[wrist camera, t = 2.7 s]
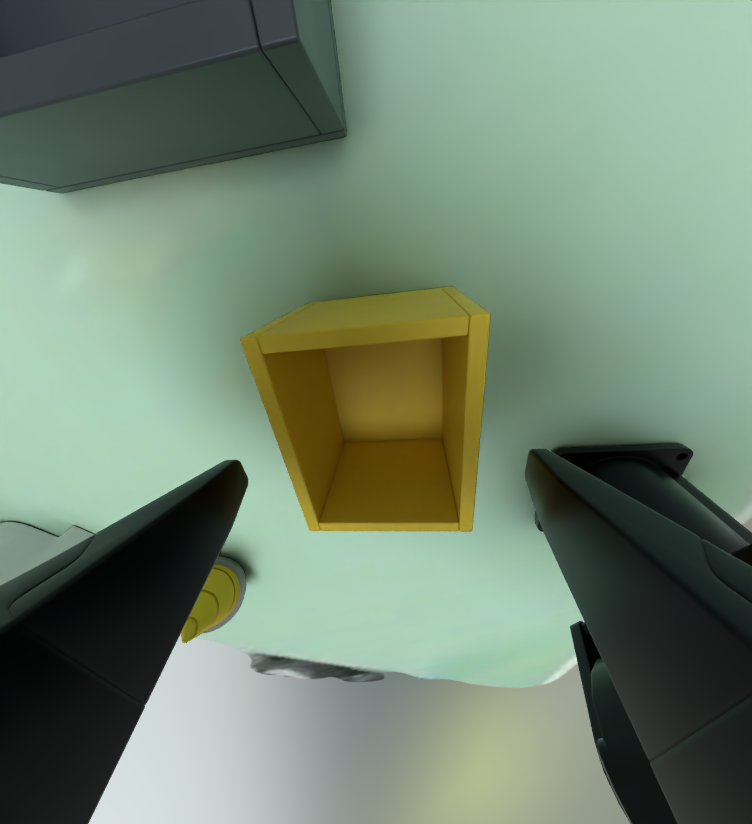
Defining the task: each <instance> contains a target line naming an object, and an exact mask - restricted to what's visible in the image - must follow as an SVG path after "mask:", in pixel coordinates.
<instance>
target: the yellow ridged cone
mask: <svg viewBox="0 0 752 824" xmlns="http://www.w3.org/2000/svg"><path fill="white" fill-rule="evenodd" d="M245 590H246V577H245V574H244V571H243V569H242V568H241V566H240V565H239V564H238V563H237V562H235V561H234V560H232V559H230V558H226V557H218V558H217V560H216V562H215V564H214V566H213V568H212V570H211V572H210V574H209V576H208V578H207V580H206V582H205V584H204V586H203V588H202V590H201V592H200V595H199V597H198V599H197V601H196V603H195V605H194V607H193V609H192V611H191V613H190V615H189V617H188V619H187V621H186V623H185V625H184V627H183V629H182V631H181V637H182V642H184V643H185V642H186V643H187V642H188V641H190V640H192V639H193V638H195V637H197V636H198V635H200V634H202V633H207V632H211V631H213V630H216V629H218V628H220V627H221V626H223V625H225V624H226V623H227V622H228V621H229V620H231V619H232V617H233V616H234V615H235V614H236V613H237V611H238V610H239V608H240V606H241V604H242V601H243V599H244V595H245Z"/></svg>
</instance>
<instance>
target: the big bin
mask: <svg viewBox="0 0 752 824" xmlns="http://www.w3.org/2000/svg"><path fill="white" fill-rule="evenodd" d="M346 135H347V129H346V121H345V113H344V105H343V97H342V89H341V81H340V73H339V65H338V57H337V49H336V41H335V32H334V24H333V16H332V8H331V0H0V183H2V184H8V185H14V186H20V187H26V188H32V189H38V190H46V191H50V192H55V193H64V192H69V191H74V190H79V189H84V188H89V187H94V186H99V185H104V184H109V183H114V182H119V181H124V180H129V179H134V178H139V177H144V176H149V175H154V174H159V173H164V172H169V171H174V170H179V169H184V168H189V167H194V166H199V165H204V164H209V163H214V162H219V161H224V160H229V159H234V158H239V157H244V156H249V155H254V154H259V153H264V152H269V151H274V150H279V149H284V148H289V147H294V146H299V145H305V144H310V143H315V142H320V141H325V140H330V139H335V138H340V137H345V136H346Z"/></svg>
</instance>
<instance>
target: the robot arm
mask: <svg viewBox="0 0 752 824" xmlns="http://www.w3.org/2000/svg"><path fill="white" fill-rule="evenodd" d="M565 456H566V457H565ZM692 456H693V452H692V450H690V449H689V448H687V447H686V446H684V445H683V444H664V445H635V446H607V447H578V448H561V449H558V450H556V451H555V452H554V453H553V452H551V451H549V450H547V449H532V450H530V451H529V453H528V458H527V464H526V469H525V478H526V482H527V485H528V488H529V491H530V494H531V497H532V500H533V503H534V506H535V509H536V512H535V513H536V515H537V516H536V520H535V524H536V526H537V528H538V529H539V530H540V531H542V532H544V534H545V536H546V539H547V541H548V543H549V545H550V547H551V549H552V552H553V554H554V556H555V558H556V560H557V562H558V565H559V567H560V569H561V571H562V573H563V575H564V578H565V580H566V582H567V584H568V586H569V588H570V591H571V593H572V595H573V597H574V599H575V601H576V604H577V606H578V608H579V610H580V612H581V614H582V617H583V619H584V621H585V622H582V621H579V622H577V623H575V624H573V625H571V626H570V629H571V634H572V638H573V643H574V648H575V652H576V657H577V662H578V666H579V671H580V676H581V680H582V685H583V690H584V694H585V699H586V703H587V708H588V713H589V718H590V722H591V727H592V732H593V736H594V741H595V744H596V748H597V752H598V755H599V758H600V761H601V764H602V767H603V770H604V773H605V775H606V777H607V780H608V782H609V784H610V786H611V788H612V790H613V792H614V794H615V796H616V798H617V801H618V803H619V805H620V806H621V808H622V810H623V811H624V813H625V815H626V817H627V818H628V820H629V822H630V824H752V533H751V532H750V531H749V530H748V529H746V528H745V527H744V526H743V525H741V524H740V523H739V522H738V521H737V520H735V519H734V518H733V517H732V516H730V515H729V514H728V513H727V512H725V511H724V510H723V509H722V508H720V507H719V506H718V505H717V504H716V503H714V502H713V501H712V500H711V499H709V498H708V497H707V496H706V495H704V494H703V493H702V492H701V491H700V490H698V489H697V488H696V487H695V486H693V485H692V484H691V483H690V482H688V481H687V480H686V479H685V478H683V477H682V476H681V475H682V473H683V472H684V470H685V468H686V466H687V465H688V463H689V461H690V459H691V458H692ZM562 457H565V458H562ZM247 486H248V477H247V475H246V473H245V471H244V469H243V466H242V464H241V462H240V461H238V460H225V461H223V462H221V463H220V464H218V465H216V466H214V467H213V468H211V469H209V470H207V471H205V472H204V473H202V474H200V475H198V476H197V477H195V478H193V479H191V480H190V481H188V482H186V483H184V484H183V485H181V486H179V487H177V488H175V489H174V490H172V491H170V492H168V493H167V494H165V495H163V496H161V497H160V498H158V499H156V500H154V501H153V502H151V503H149V504H147V505H145V506H144V507H142V508H140V509H138V510H137V511H135V512H133V513H131V514H130V515H128V516H126V517H124V518H122V519H121V520H119V521H117V522H115V523H114V524H112V525H110V526H108V527H107V528H105V529H103V530H101V531H100V532H98V533H97V534H96V535H92V536H91V537H89V538H87V539H85V540H84V541H82V542H80V543H78V544H76V545H75V546H73V547H71V548H69V549H67V550H66V551H64V552H62V553H60V554H58V555H57V556H55V557H53V558H51V559H49V560H48V561H46V562H44V563H42V564H40V565H38V566H36V567H34V568H32V569H31V570H29V571H27V572H25V573H23V574H21V575H19V576H17V577H16V578H14V579H12V580H10V581H8V582H6V583H4V584H2V585H0V824H88V823H89V821H90V819H91V817H92V815H93V813H94V811H95V809H96V807H97V805H98V802H99V801H100V798H101V796H102V794H103V792H104V790H105V788H106V786H107V784H108V782H109V780H110V778H111V776H112V774H113V772H114V770H115V768H116V765H117V763H118V761H119V759H120V757H121V755H122V753H123V751H124V749H125V747H126V745H127V743H128V741H129V739H130V737H131V735H132V732H133V731H134V728H135V726H136V724H137V722H138V720H139V718H140V716H141V714H142V712H143V710H144V707H145V704H146V703H147V701H148V699H149V697H150V695H151V693H152V691H153V689H154V687H155V685H156V683H157V681H158V679H159V677H160V675H161V672H162V670H163V668H164V666H165V664H166V662H167V660H168V658H169V656H170V654H171V652H172V650H173V648H174V646H175V644H176V642H177V640H178V638H179V636H180V634H181V631H182V629H183V627H184V625H185V623H186V621H187V619H188V617H189V615H190V613H191V611H192V609H193V607H194V605H195V603H196V601H197V599H198V597H199V595H200V592H201V590H202V588H203V586H204V584H205V582H206V580H207V578H208V576H209V574H210V572H211V570H212V568H213V566H214V564H215V562H216V560H217V558H218V556H219V553H220V551H221V549H222V547H223V545H224V543H225V541H226V539H227V537H228V535H229V533H230V531H231V528H232V526H233V523H234V521H235V518H236V516H237V513H238V510H239V508H240V505H241V502H242V500H243V497H244V494H245V492H246V489H247Z"/></svg>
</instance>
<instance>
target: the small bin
mask: <svg viewBox="0 0 752 824" xmlns="http://www.w3.org/2000/svg"><path fill="white" fill-rule="evenodd" d="M490 317H491V315H490V313H489V312H487V311H486V310H485V309H483V308H482V307H481V306H479V305H478V304H476V303H475V302H474V301H472V300H471V299H469V298H468V297H467V296H465V295H464V294H463V293H461V292H460V291H458V290H457V289H456V288H454V287H453V286H450V287H441V288H433V289H424V290H415V291H407V292H398V293H389V294H381V295H372V296H364V297H355V298H346V299H338V300H329V301H320V302H312V303H307V304H305V305H303V306H301V307H299V308H297V309H296V310H294V311H292V312H290V313H288V314H286V315H284V316H282V317H280V318H278V319H277V320H275V321H273V322H271V323H269V324H267V325H265V326H263V327H261V328H259V329H258V330H256V331H254V332H252V333H250V334H248V335H246V336H244V337H242V338H241V339H240V341H241V343H242V346H243V349H244V352H245V354H246V357H247V360H248V363H249V365H250V368H251V371H252V374H253V376H254V379H255V382H256V385H257V387H258V390H259V393H260V396H261V398H262V401H263V404H264V407H265V409H266V412H267V415H268V418H269V420H270V423H271V426H272V429H273V431H274V434H275V437H276V440H277V442H278V445H279V448H280V451H281V453H282V456H283V459H284V462H285V464H286V467H287V470H288V473H289V475H290V478H291V481H292V484H293V486H294V489H295V492H296V495H297V497H298V500H299V503H300V506H301V508H302V511H303V514H304V517H305V519H306V522H307V525H308V528H309V530H310V531H320V530H321V531H472V529H473V517H474V505H475V493H476V482H477V470H478V458H479V446H480V434H481V423H482V411H483V399H484V387H485V376H486V364H487V352H488V340H489V329H490Z"/></svg>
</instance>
